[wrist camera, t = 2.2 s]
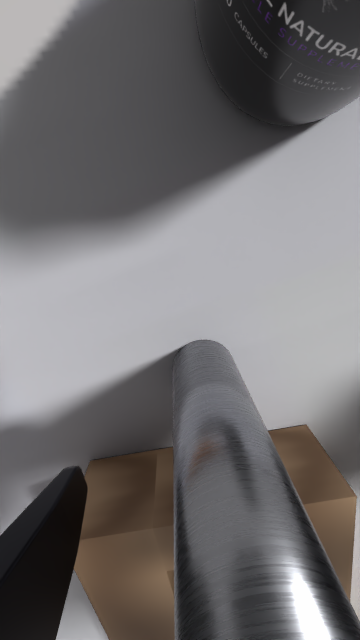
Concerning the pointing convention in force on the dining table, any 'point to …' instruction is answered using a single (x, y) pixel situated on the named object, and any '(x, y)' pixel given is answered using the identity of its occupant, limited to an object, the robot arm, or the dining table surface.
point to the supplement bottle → (283, 55)
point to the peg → (241, 519)
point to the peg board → (158, 531)
